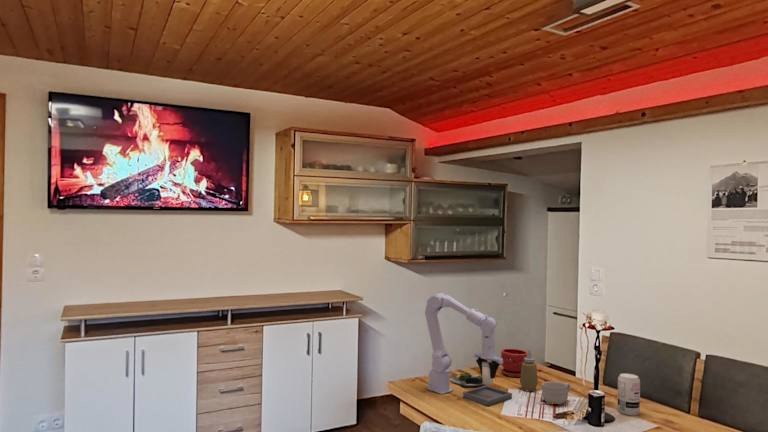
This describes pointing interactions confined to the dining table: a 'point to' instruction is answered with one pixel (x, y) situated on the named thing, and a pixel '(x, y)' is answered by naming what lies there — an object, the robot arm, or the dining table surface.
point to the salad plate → (467, 380)
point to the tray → (487, 395)
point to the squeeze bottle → (529, 373)
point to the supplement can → (629, 394)
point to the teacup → (555, 392)
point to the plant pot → (512, 361)
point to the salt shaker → (486, 373)
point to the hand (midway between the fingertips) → (488, 376)
